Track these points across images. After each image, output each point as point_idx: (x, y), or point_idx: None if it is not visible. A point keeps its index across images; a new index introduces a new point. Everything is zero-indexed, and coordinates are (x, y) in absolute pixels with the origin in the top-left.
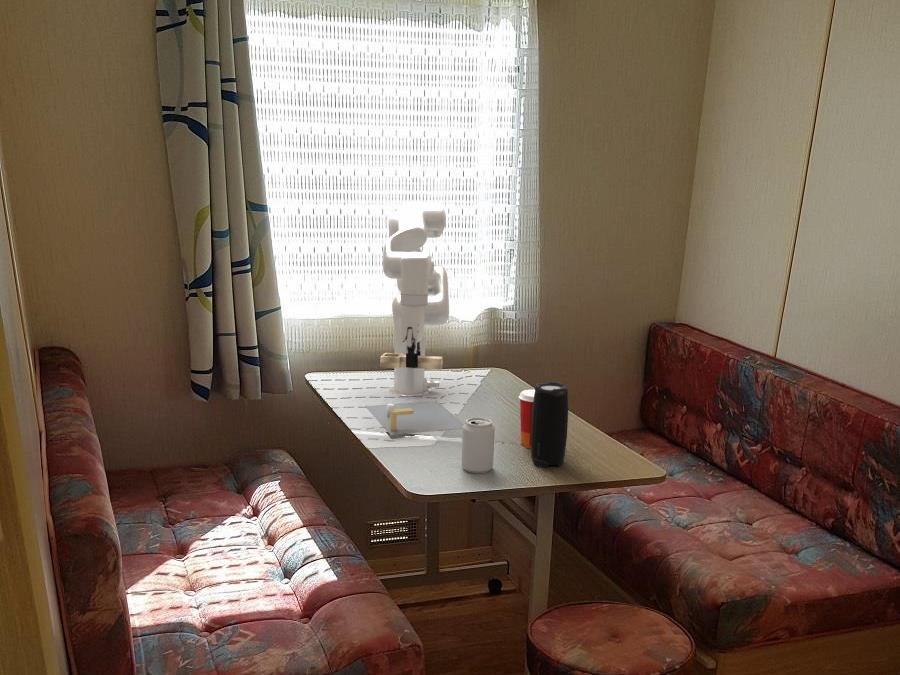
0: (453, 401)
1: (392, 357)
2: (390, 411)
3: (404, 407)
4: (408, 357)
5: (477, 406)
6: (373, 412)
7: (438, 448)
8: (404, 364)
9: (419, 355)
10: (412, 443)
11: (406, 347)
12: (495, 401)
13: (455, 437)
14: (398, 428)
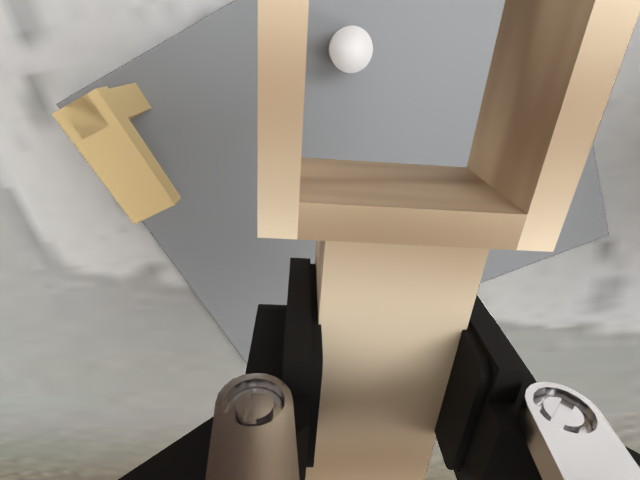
0: (628, 289)
1: (260, 123)
2: (75, 100)
3: None
4: (250, 357)
5: (547, 367)
6: None
7: (39, 289)
8: (318, 246)
9: (435, 432)
10: (47, 199)
11: (206, 473)
12: (606, 412)
13: (174, 328)
14: (156, 125)
